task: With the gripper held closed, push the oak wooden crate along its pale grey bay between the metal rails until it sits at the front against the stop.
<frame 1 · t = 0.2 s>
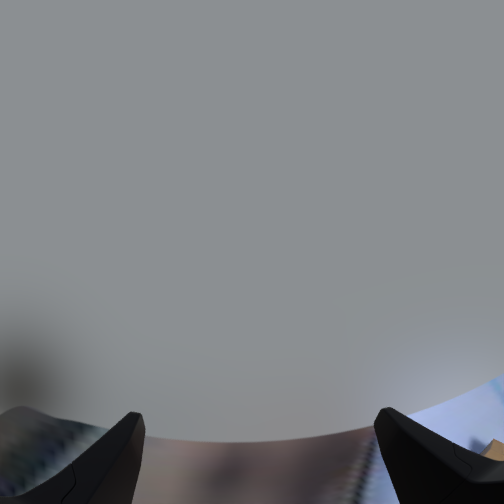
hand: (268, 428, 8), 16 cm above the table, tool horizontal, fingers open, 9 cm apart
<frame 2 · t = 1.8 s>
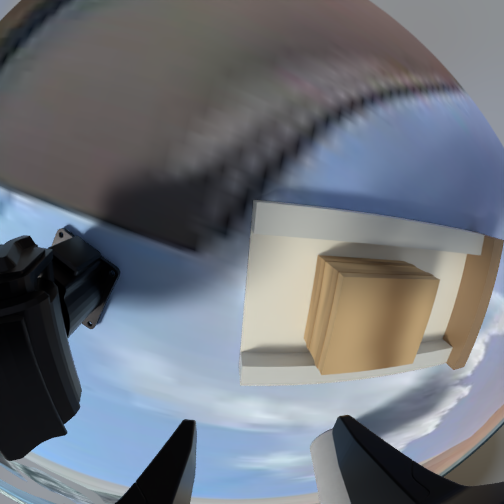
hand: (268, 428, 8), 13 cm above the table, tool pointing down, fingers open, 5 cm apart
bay: (399, 296, 22), on the table
crate: (369, 312, 19), point 3 cm above the table, slide at 0.0 cm
coffee cup: (334, 440, 27), on the table
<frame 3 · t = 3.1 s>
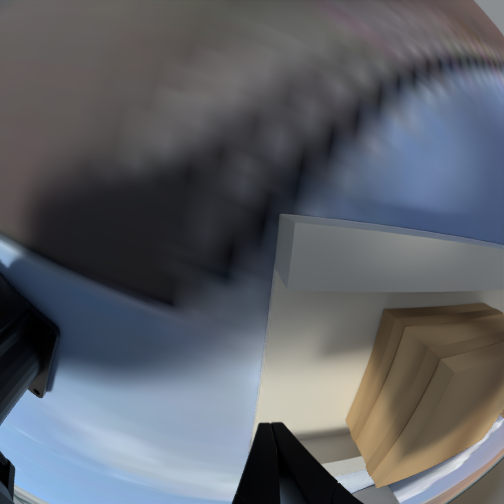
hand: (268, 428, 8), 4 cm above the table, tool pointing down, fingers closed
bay: (468, 347, 13), on the table
crate: (447, 388, 10), point 3 cm above the table, slide at 0.0 cm
coffee cup: (359, 497, 18), on the table
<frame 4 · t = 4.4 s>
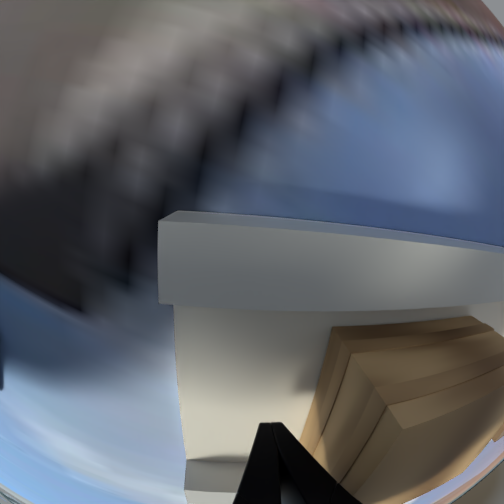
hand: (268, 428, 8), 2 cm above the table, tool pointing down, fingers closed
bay: (448, 366, 11), on the table
crate: (417, 421, 8), point 3 cm above the table, slide at 0.4 cm, touching gripper
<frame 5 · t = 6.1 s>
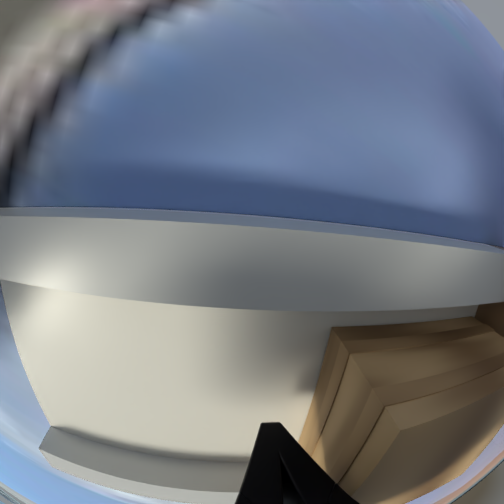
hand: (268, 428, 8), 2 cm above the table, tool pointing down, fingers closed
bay: (318, 389, 11), on the table
crate: (417, 422, 8), point 3 cm above the table, slide at 8.6 cm, touching gripper
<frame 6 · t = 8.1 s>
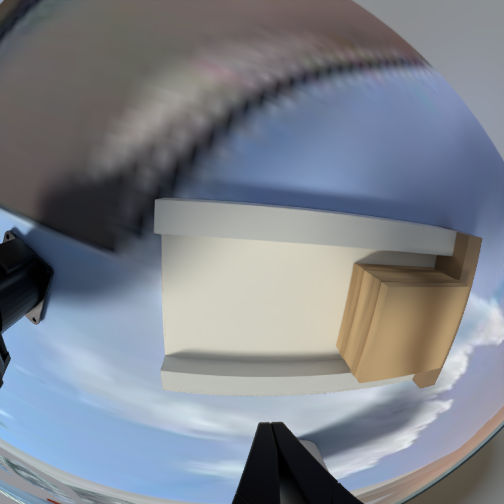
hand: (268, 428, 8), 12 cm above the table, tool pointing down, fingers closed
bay: (347, 304, 21), on the table
crate: (402, 319, 18), point 3 cm above the table, slide at 8.5 cm
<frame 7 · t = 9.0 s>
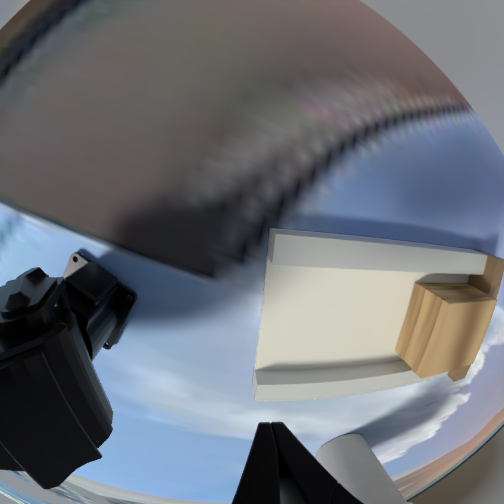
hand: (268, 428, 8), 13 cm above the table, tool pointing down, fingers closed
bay: (405, 315, 23), on the table
crate: (447, 326, 20), point 3 cm above the table, slide at 8.5 cm
coffee cup: (340, 447, 27), on the table
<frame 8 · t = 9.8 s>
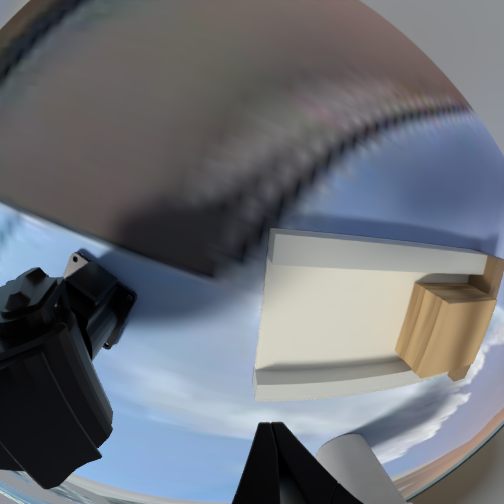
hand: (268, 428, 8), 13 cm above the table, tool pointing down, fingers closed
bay: (405, 315, 23), on the table
crate: (447, 326, 20), point 3 cm above the table, slide at 8.5 cm
coffee cup: (340, 447, 27), on the table
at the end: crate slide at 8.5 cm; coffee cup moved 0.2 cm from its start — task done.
